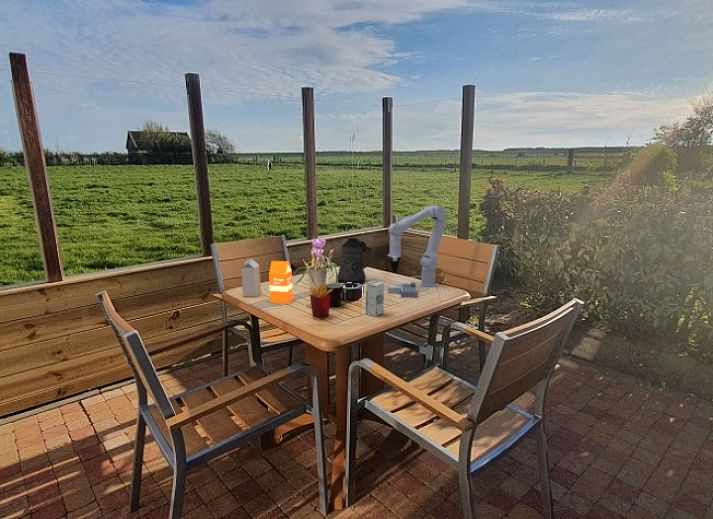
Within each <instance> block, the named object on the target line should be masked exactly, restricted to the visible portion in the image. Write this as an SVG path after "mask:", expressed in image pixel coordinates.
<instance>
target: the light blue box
mask: <svg viewBox="0 0 713 519" xmlns="http://www.w3.org/2000/svg"><path fill="white" fill-rule="evenodd" d="M393 293H400V294H401V284H388V285H387V294H393Z"/></svg>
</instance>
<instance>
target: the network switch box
mask: <svg viewBox="0 0 713 519" xmlns="http://www.w3.org/2000/svg"><path fill="white" fill-rule="evenodd" d="M416 288H417V286H416V282H410V283H409V284H408V283H407V284H406V283H405V284H400V298H405V297H416V298H417V289H416Z"/></svg>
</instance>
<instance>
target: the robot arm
mask: <svg viewBox="0 0 713 519" xmlns="http://www.w3.org/2000/svg"><path fill="white" fill-rule="evenodd" d="M447 213H448V212H447V210H446V208H445V207H444V206H442V205H436V204H430V205H428V206H426V207H424V208H423V209H422V210H420V211H419V212H417V213H416V214H414V215H412V216H403V219H401V220H398V221H396V222H395V223H391V224H390V225H389V226H388V228H387V231H388V233H389V253H388V254H387V257H389V258H390V259H389V263H390V266H391V270H392V274H398V270H399V266H400V263H401V260H400V259H401V256H402V254H401V251H402V250H401V246H402V244H401V243H402V238H401V237H402V234H403V232H405V231H407V230H408V229H410V228H412V227H413V226H414V224H415V223H416V222H418V221H420V220H422V219H424V218H427V217H430V218H432V220H433V222H434V228H433V231H432V234H431V237H430V240H429V244H428V246H427V250H426V251H425V252H424V253H423V254H422V257H420V260H419V264H420V266H421V281H420V286H421V287H425V286H429V287H431V288H434V287H436V288H437V284H436V269H437V268H438V266H439V264H438V260H439V256H438V250H439V249H440V248H439V247H440V245H441V242H442V238H443V235H444V232H445V228H446V225H447Z"/></svg>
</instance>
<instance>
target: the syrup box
mask: <svg viewBox="0 0 713 519" xmlns="http://www.w3.org/2000/svg"><path fill="white" fill-rule="evenodd" d="M365 289H366V290H365V314H366V315H368V314H369V316H371V315H372V317H378V316H380V314H381V315H383V314H384V298H385V297H384V296H385V283H384V282H382V281H379V280H373V281H372V280H371V281H369V282H365ZM382 313H383V314H382Z"/></svg>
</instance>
